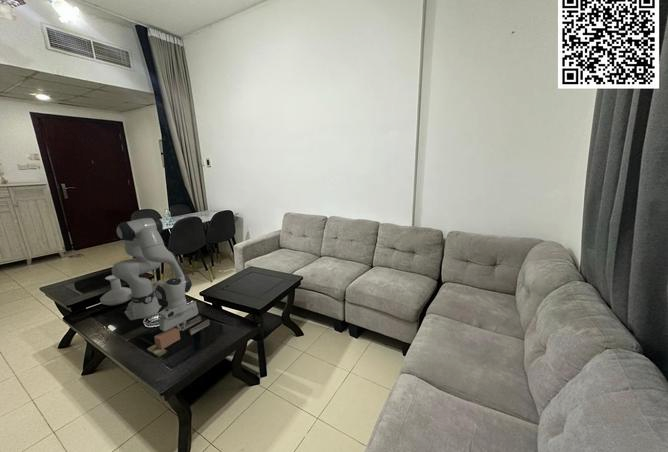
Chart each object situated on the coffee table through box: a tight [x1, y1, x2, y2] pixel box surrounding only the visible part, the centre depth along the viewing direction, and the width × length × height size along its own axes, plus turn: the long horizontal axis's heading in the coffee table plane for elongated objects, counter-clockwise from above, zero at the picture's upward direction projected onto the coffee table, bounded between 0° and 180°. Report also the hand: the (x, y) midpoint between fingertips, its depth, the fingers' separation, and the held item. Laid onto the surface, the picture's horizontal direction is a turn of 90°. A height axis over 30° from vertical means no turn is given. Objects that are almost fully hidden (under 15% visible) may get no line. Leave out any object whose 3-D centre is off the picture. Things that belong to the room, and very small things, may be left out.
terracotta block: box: [153, 326, 181, 350], centre depth 142 cm, size 6×10×6 cm, turn 151°
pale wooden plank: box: [146, 315, 211, 358], centre depth 149 cm, size 11×32×4 cm, turn 151°
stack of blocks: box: [150, 279, 168, 297], centre depth 198 cm, size 21×6×12 cm, turn 169°
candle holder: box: [99, 274, 132, 306], centre depth 191 cm, size 20×20×19 cm
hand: (181, 329), depth 149 cm, fingers closed
